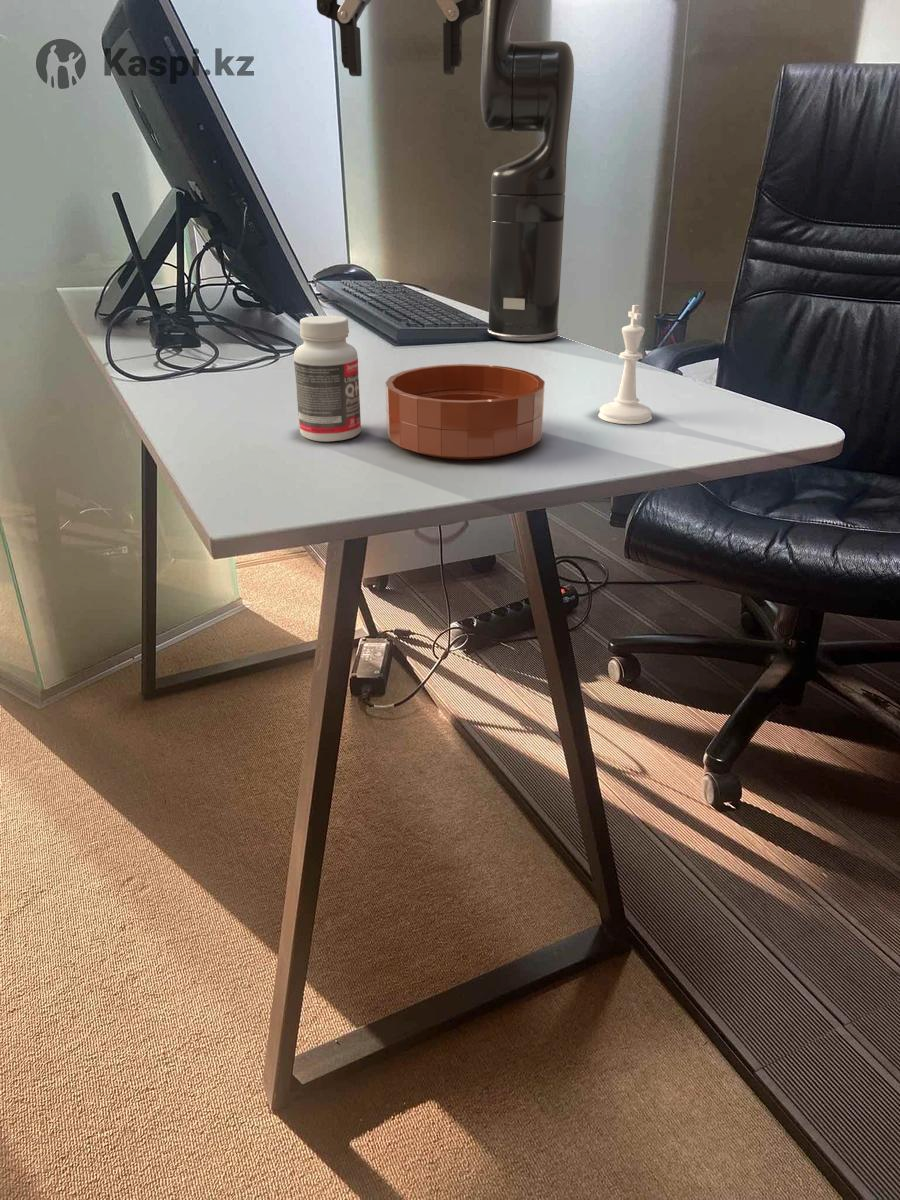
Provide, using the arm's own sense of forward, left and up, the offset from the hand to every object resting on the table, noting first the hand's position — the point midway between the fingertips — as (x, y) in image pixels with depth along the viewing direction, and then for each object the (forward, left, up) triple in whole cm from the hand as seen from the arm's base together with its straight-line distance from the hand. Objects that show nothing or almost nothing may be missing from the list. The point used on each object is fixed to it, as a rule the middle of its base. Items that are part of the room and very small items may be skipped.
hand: (401, 75), depth 77 cm
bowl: (+17, +8, -28) cm, 34 cm away
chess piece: (+8, +22, -28) cm, 37 cm away
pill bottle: (+17, -4, -28) cm, 33 cm away
